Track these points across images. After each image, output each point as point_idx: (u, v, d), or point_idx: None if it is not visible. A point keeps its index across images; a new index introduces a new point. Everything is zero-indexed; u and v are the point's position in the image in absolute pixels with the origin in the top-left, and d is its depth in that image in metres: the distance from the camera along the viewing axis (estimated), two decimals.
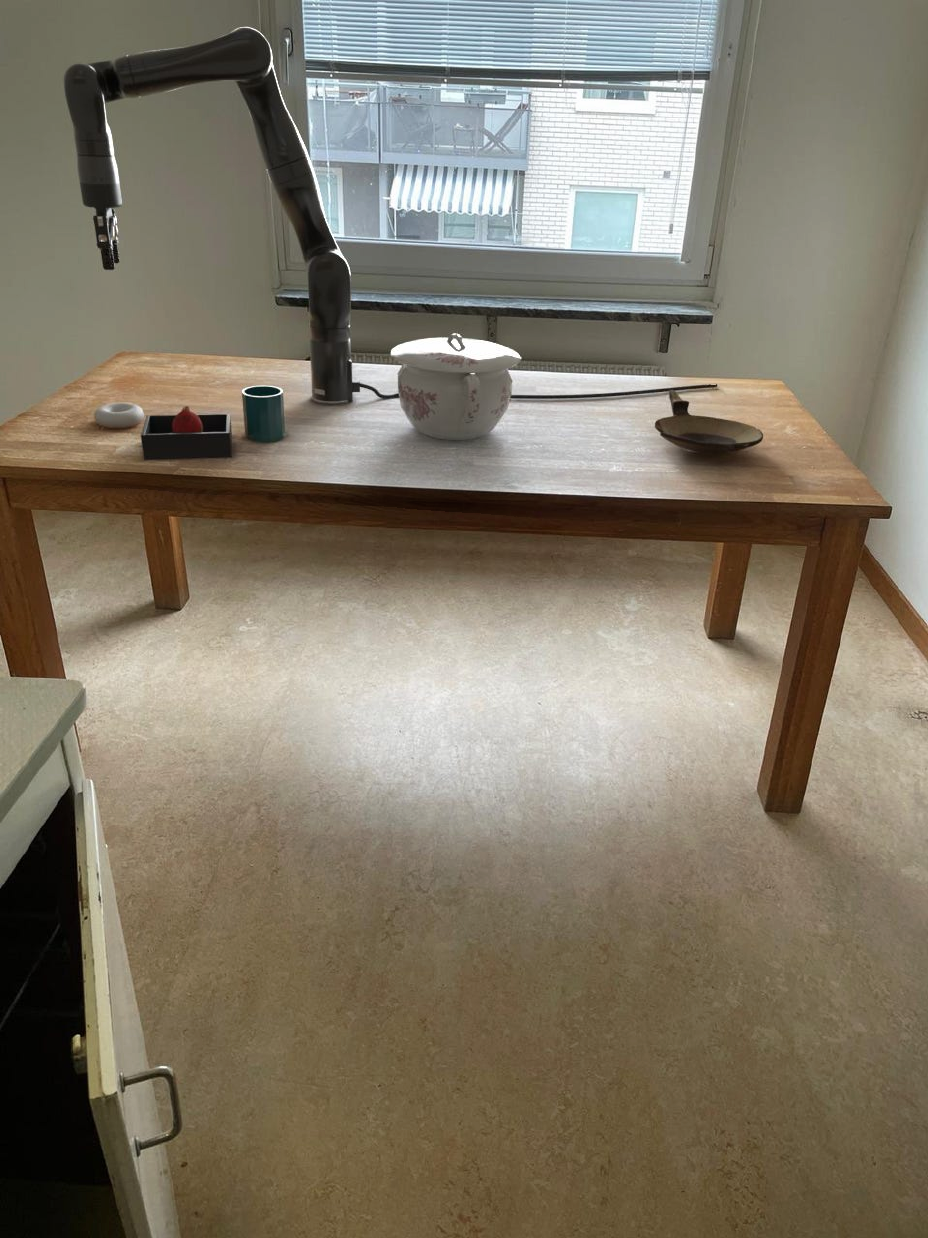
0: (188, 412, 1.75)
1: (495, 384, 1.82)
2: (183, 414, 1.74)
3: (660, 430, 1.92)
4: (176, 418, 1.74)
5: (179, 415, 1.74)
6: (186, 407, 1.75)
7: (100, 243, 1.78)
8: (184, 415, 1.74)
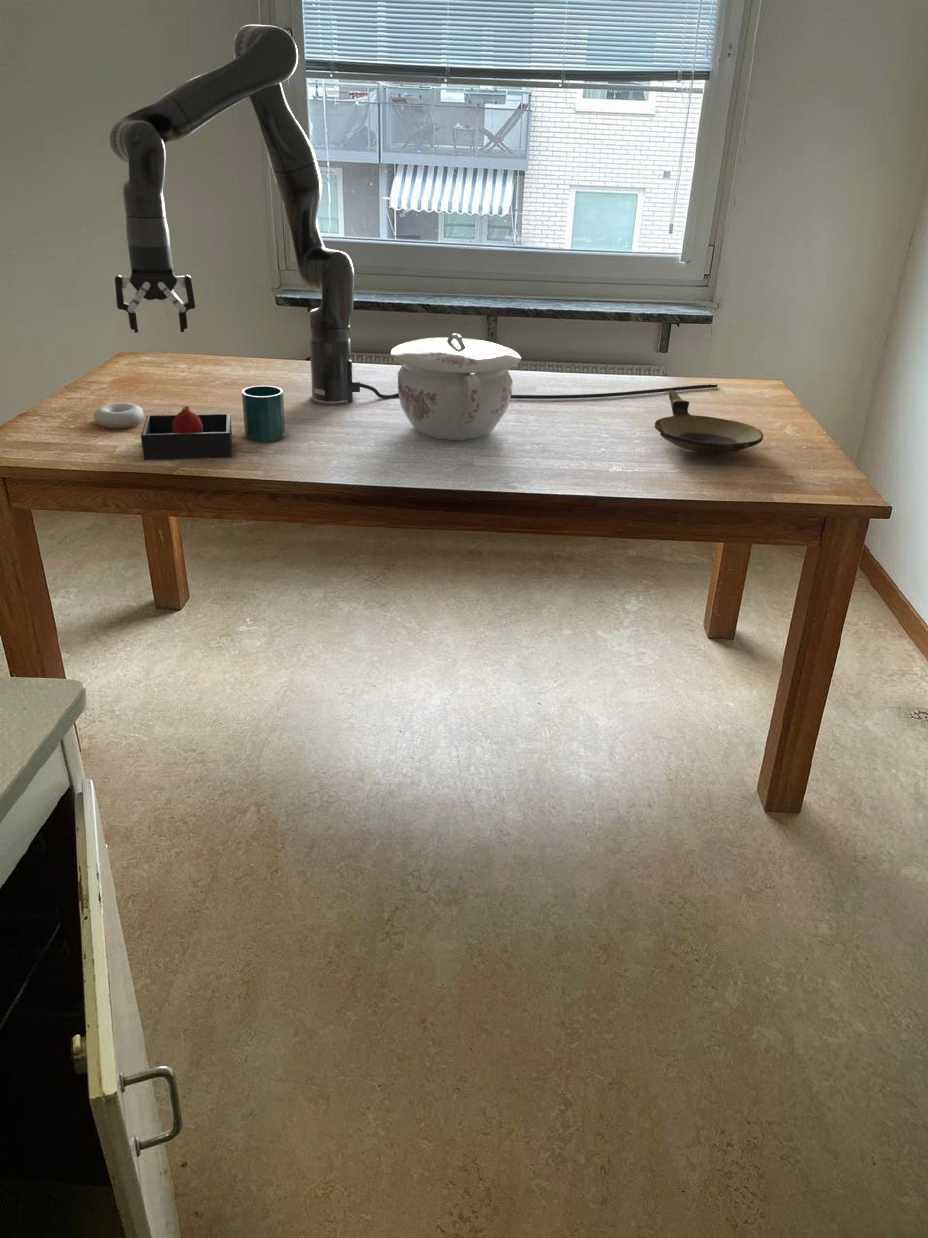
0: (188, 412, 1.75)
1: (495, 384, 1.82)
2: (183, 414, 1.74)
3: (660, 430, 1.92)
4: (176, 418, 1.74)
5: (179, 415, 1.74)
6: (186, 407, 1.75)
7: None
8: (184, 415, 1.74)
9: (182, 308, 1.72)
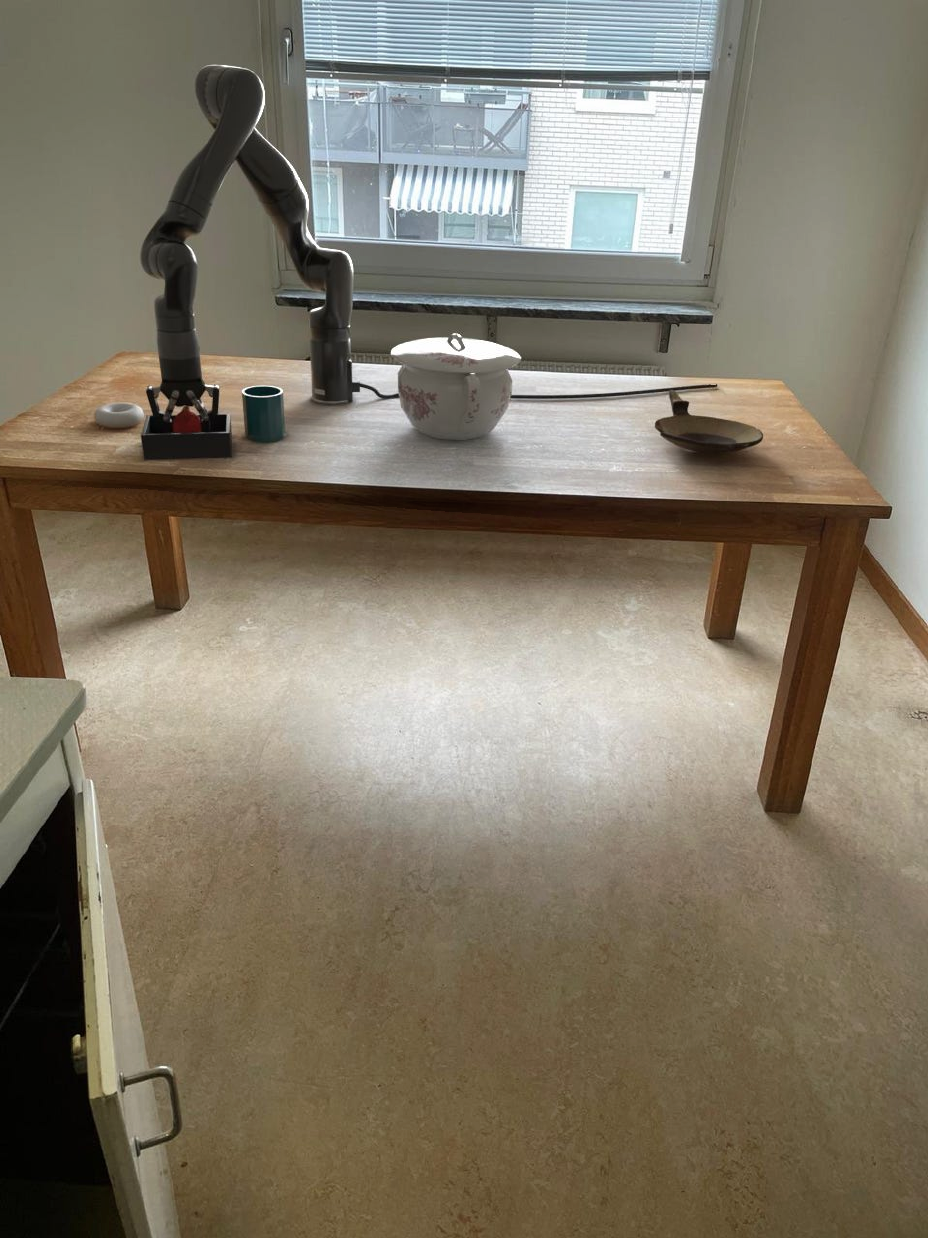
0: (188, 412, 1.75)
1: (495, 384, 1.82)
2: (183, 414, 1.74)
3: (660, 430, 1.92)
4: (176, 418, 1.74)
5: (179, 415, 1.74)
6: (186, 407, 1.75)
7: None
8: (184, 415, 1.74)
9: (205, 417, 1.75)
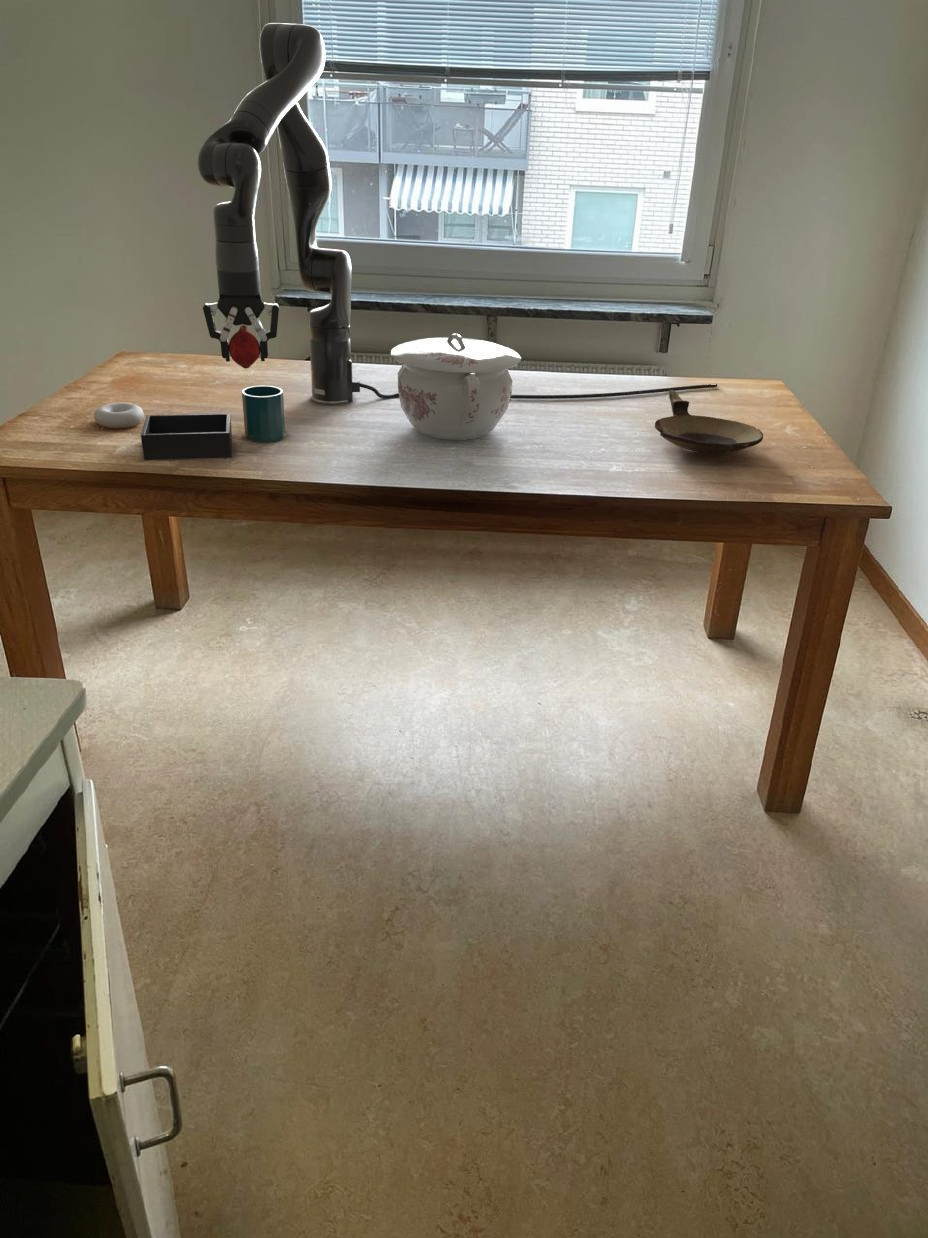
0: (246, 332, 1.67)
1: (495, 384, 1.82)
2: (240, 333, 1.66)
3: (660, 430, 1.92)
4: (233, 338, 1.66)
5: (236, 335, 1.66)
6: (244, 326, 1.67)
7: None
8: (241, 334, 1.66)
9: (263, 337, 1.67)
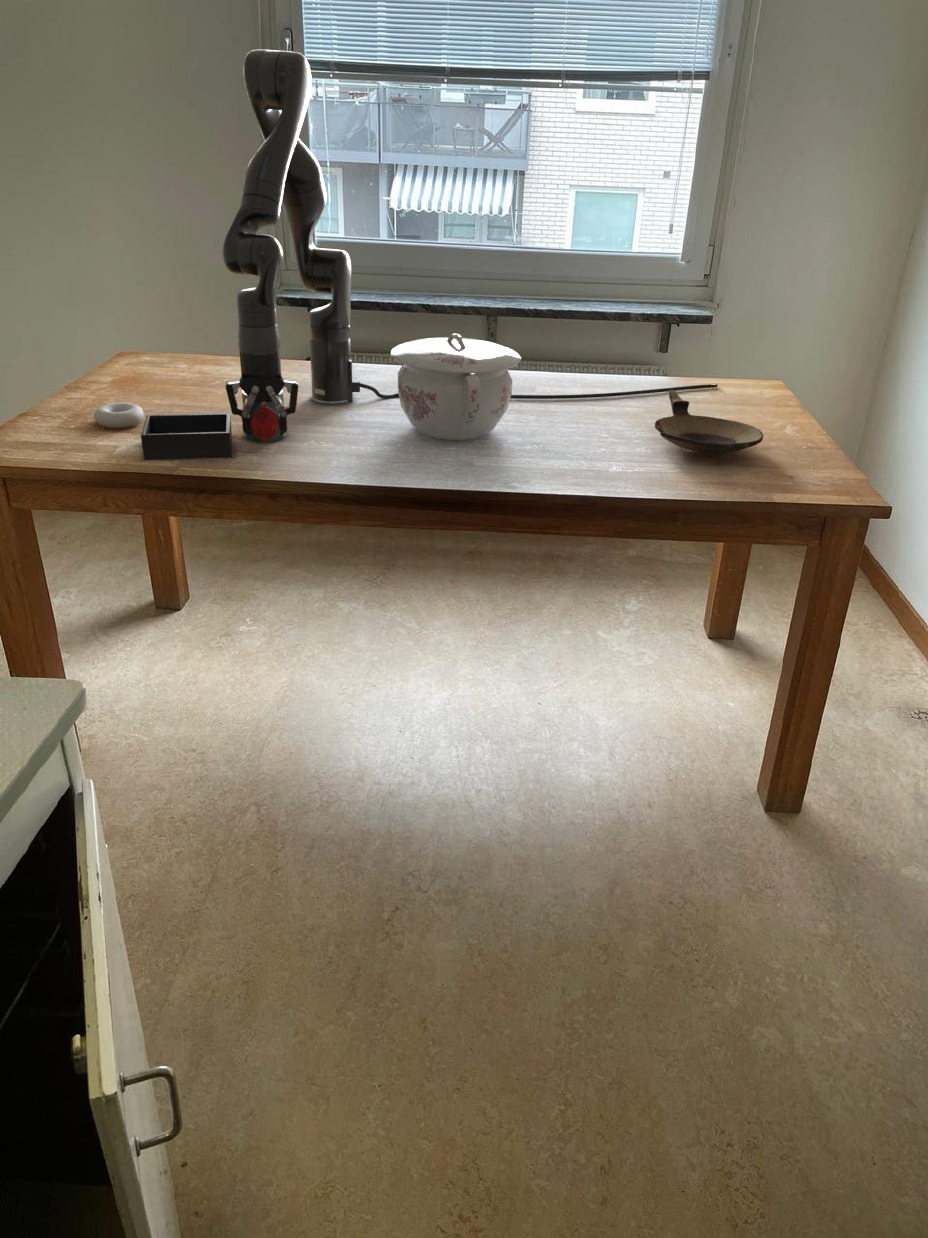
0: (266, 408, 1.73)
1: (495, 384, 1.82)
2: (261, 410, 1.73)
3: (660, 430, 1.92)
4: (254, 414, 1.73)
5: (257, 411, 1.73)
6: (264, 403, 1.73)
7: None
8: (262, 411, 1.73)
9: (283, 413, 1.74)
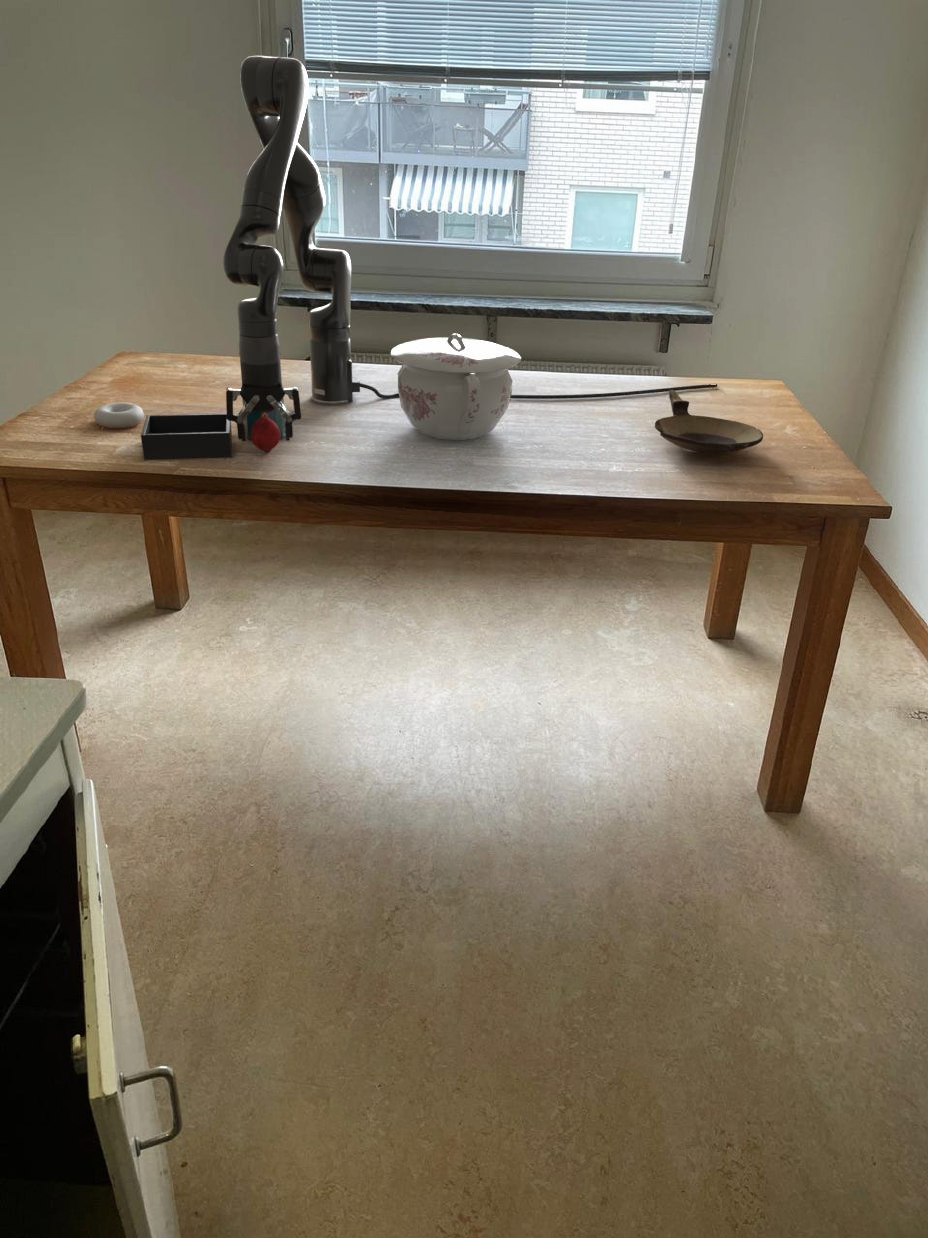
0: (267, 419, 1.75)
1: (495, 384, 1.82)
2: (262, 421, 1.74)
3: (660, 430, 1.92)
4: (255, 425, 1.74)
5: (258, 422, 1.74)
6: (265, 414, 1.75)
7: None
8: (263, 422, 1.74)
9: (289, 419, 1.75)
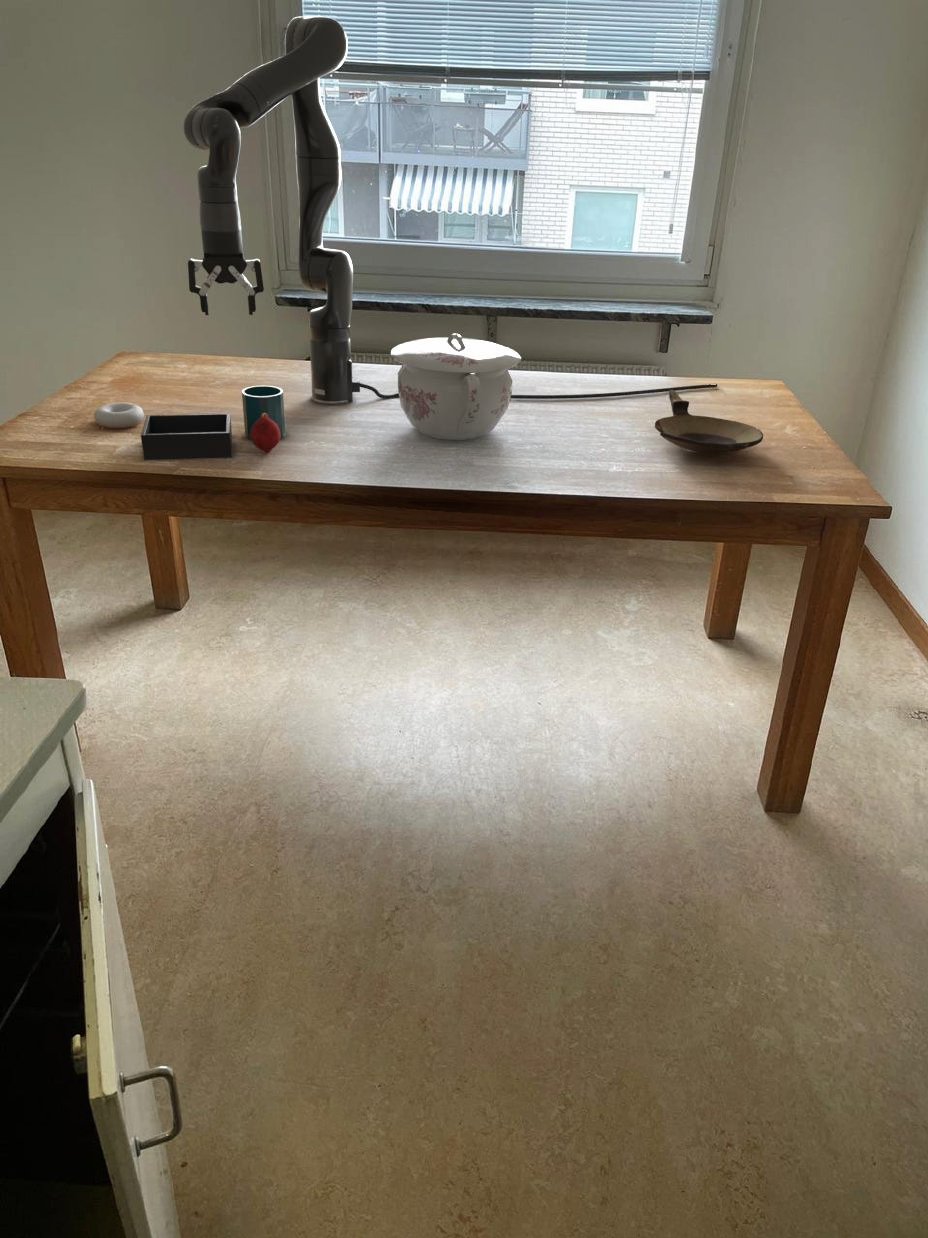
0: (267, 419, 1.75)
1: (495, 384, 1.82)
2: (262, 421, 1.74)
3: (660, 430, 1.92)
4: (255, 425, 1.74)
5: (258, 422, 1.74)
6: (265, 414, 1.75)
7: None
8: (263, 422, 1.74)
9: (251, 291, 1.77)
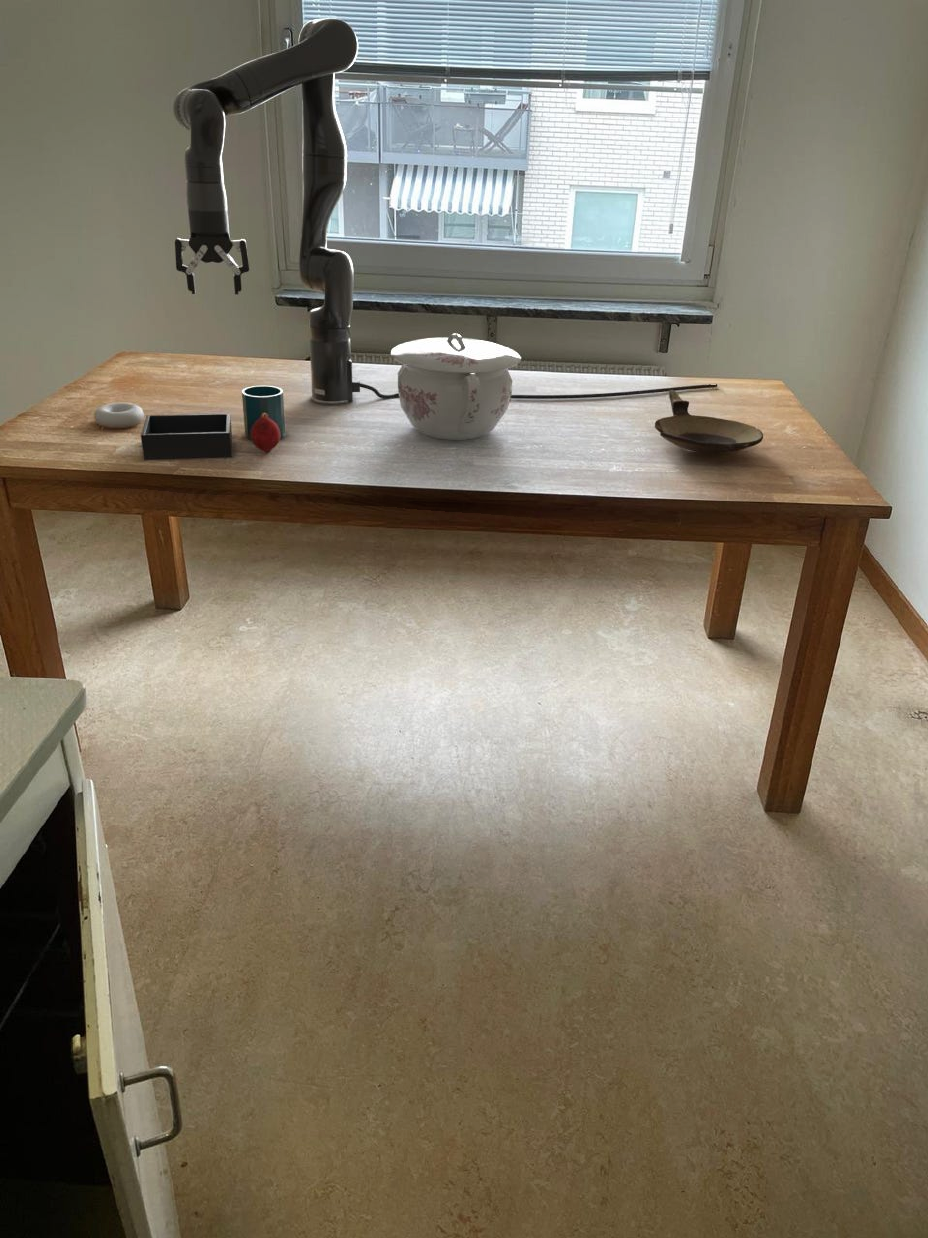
0: (267, 419, 1.75)
1: (495, 384, 1.82)
2: (262, 421, 1.74)
3: (660, 430, 1.92)
4: (255, 425, 1.74)
5: (258, 422, 1.74)
6: (265, 414, 1.75)
7: None
8: (263, 422, 1.74)
9: (237, 271, 1.81)
